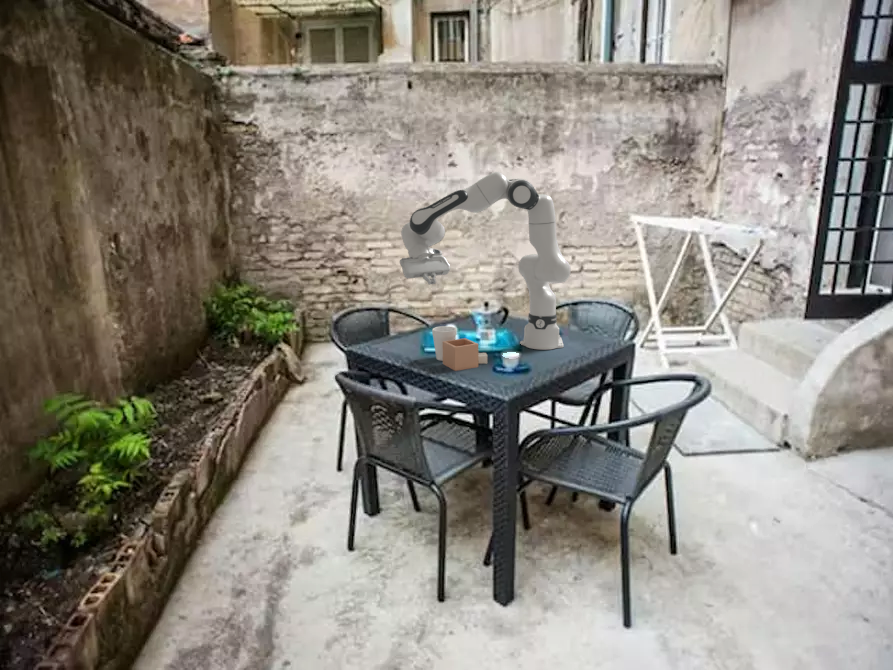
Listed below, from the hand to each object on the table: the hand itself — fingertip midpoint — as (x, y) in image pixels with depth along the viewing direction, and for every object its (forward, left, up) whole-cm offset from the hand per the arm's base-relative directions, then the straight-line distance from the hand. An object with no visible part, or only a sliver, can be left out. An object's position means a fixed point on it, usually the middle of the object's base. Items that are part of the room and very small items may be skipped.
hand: (432, 283), depth 241 cm
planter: (+17, +16, -29) cm, 38 cm away
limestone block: (+10, +22, -30) cm, 38 cm away
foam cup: (+9, +8, -30) cm, 32 cm away
